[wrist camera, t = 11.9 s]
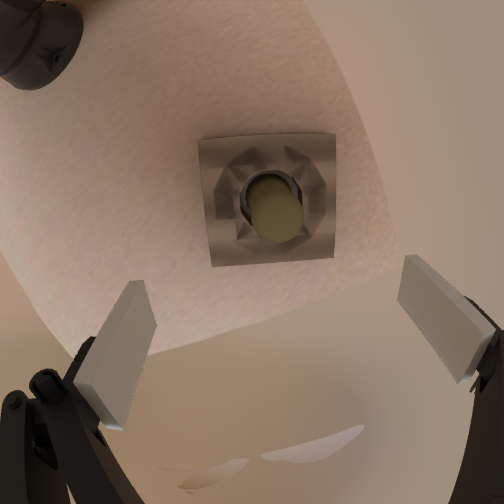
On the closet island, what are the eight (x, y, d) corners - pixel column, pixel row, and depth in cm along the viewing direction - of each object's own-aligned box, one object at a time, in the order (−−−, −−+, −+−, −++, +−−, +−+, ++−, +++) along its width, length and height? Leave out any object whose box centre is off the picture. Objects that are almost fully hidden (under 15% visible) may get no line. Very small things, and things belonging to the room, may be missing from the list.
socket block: (201, 139, 33) (197, 140, 30) (328, 133, 33) (335, 133, 31) (213, 257, 40) (211, 267, 37) (327, 248, 40) (333, 257, 37)
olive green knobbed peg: (243, 175, 35) (244, 192, 25) (290, 171, 35) (310, 187, 25) (247, 220, 38) (249, 254, 28) (292, 216, 38) (311, 249, 28)
